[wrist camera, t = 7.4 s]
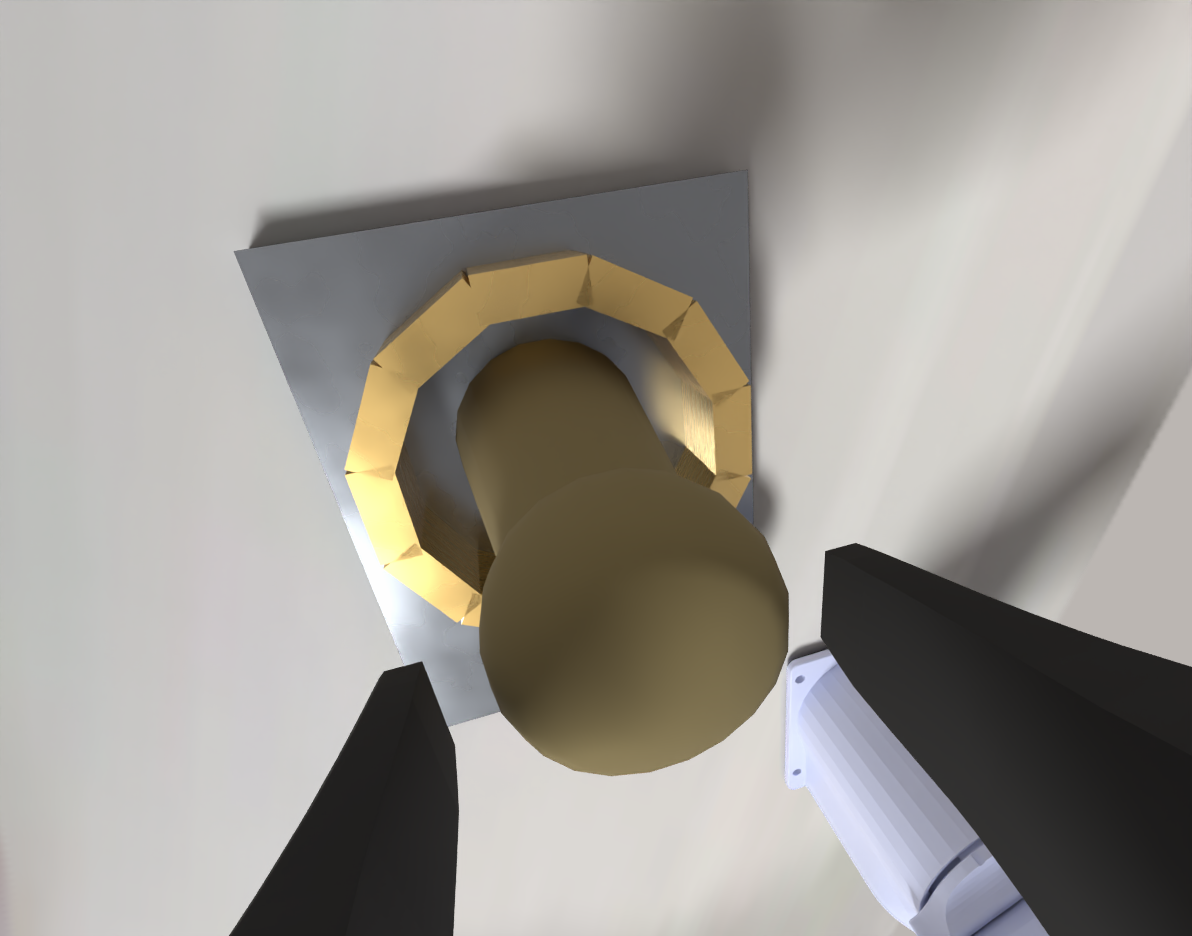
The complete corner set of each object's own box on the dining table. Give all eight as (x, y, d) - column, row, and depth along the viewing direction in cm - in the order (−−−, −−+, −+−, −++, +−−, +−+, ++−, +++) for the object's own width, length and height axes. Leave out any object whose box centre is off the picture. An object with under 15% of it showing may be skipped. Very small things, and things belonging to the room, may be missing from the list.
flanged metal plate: (744, 621, 24) (786, 679, 21) (432, 711, 22) (428, 790, 19) (732, 172, 16) (795, 161, 13) (247, 249, 14) (189, 256, 11)
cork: (570, 296, 16) (748, 414, 6) (672, 442, 19) (907, 683, 9) (412, 422, 16) (343, 717, 7) (535, 546, 19) (616, 884, 9)
